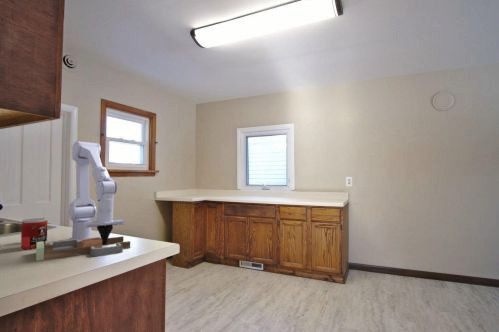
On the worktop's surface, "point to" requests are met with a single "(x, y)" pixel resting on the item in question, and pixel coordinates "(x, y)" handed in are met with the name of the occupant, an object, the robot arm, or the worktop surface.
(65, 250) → the track
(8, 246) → the worktop surface
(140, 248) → the worktop surface
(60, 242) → the traps
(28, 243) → the canned food
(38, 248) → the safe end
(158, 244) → the worktop surface
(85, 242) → the block
